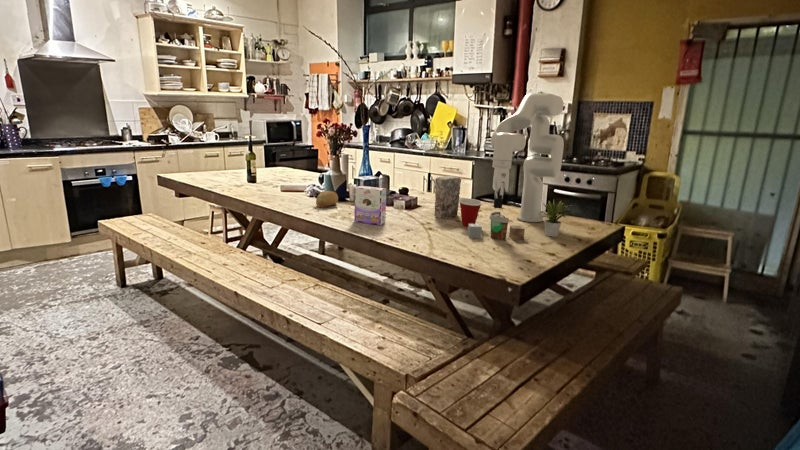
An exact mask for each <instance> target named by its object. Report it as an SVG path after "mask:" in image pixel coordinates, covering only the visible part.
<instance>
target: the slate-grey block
mask: <svg viewBox="0 0 800 450" xmlns="http://www.w3.org/2000/svg"><path fill="white" fill-rule="evenodd" d="M482 229H483V226H482V225H481V224H480V223H475V224H468V227H467V237H468V238H469V239H482Z"/></svg>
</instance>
